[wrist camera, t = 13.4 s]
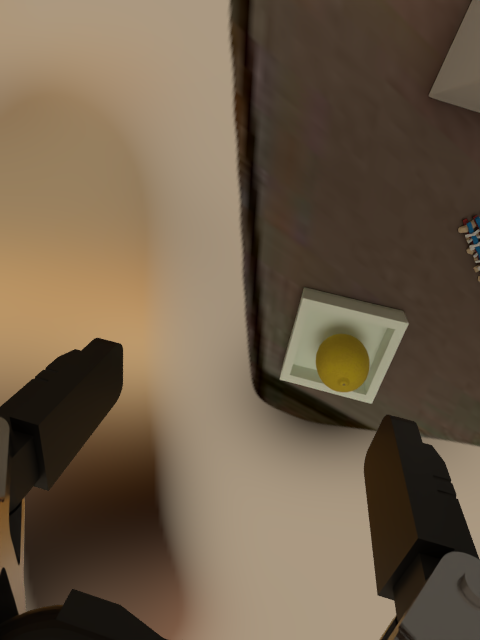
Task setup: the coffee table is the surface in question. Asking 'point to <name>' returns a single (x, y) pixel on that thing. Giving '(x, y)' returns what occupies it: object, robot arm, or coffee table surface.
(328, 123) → the coffee table surface
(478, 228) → the woven mat
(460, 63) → the milk carton
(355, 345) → the lemon
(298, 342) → the tray
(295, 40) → the coffee table surface
